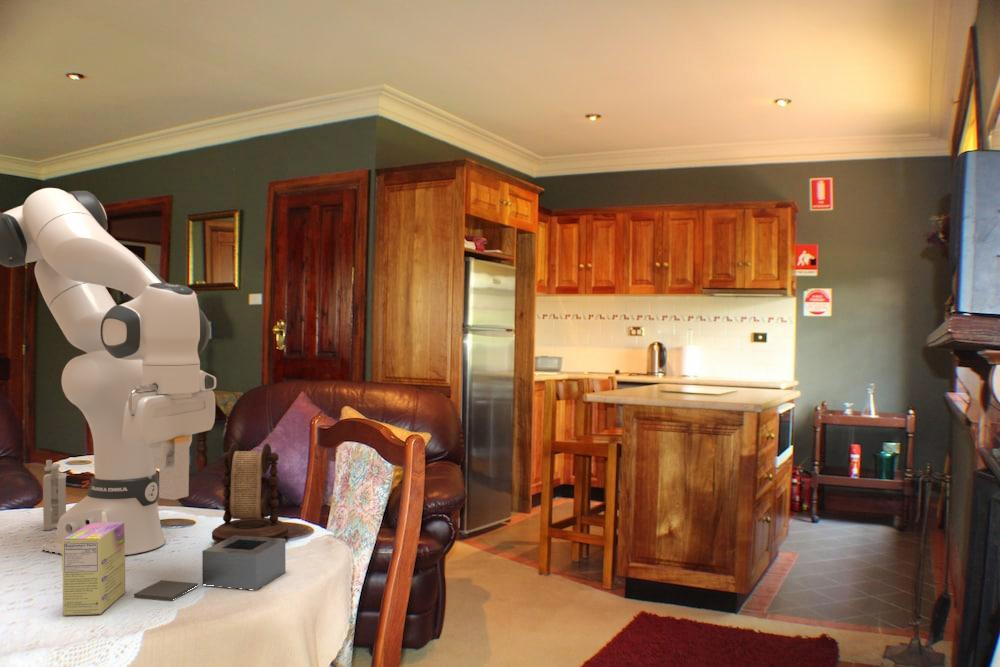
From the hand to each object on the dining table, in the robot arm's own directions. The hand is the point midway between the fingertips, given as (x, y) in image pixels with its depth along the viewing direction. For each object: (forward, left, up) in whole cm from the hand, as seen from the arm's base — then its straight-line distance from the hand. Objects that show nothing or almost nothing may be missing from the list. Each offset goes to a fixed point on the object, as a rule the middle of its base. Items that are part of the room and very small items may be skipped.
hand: (171, 465), depth 133 cm
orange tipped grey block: (+1, 0, -5) cm, 5 cm away
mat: (0, -1, -21) cm, 21 cm away
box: (-8, -8, -21) cm, 24 cm away
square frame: (+9, +8, -21) cm, 24 cm away
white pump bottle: (-51, +31, -21) cm, 63 cm away
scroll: (-3, +30, -21) cm, 37 cm away
